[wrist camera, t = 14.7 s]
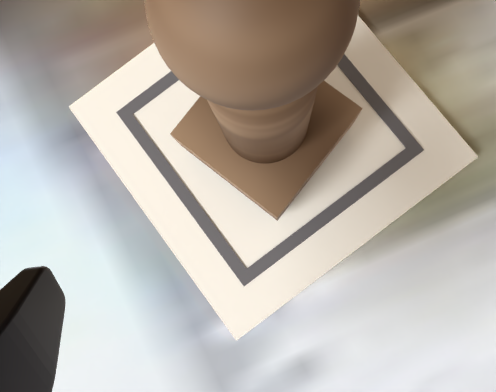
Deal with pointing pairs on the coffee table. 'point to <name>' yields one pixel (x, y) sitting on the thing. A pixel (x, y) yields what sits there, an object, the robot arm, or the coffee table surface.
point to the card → (306, 202)
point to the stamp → (258, 87)
